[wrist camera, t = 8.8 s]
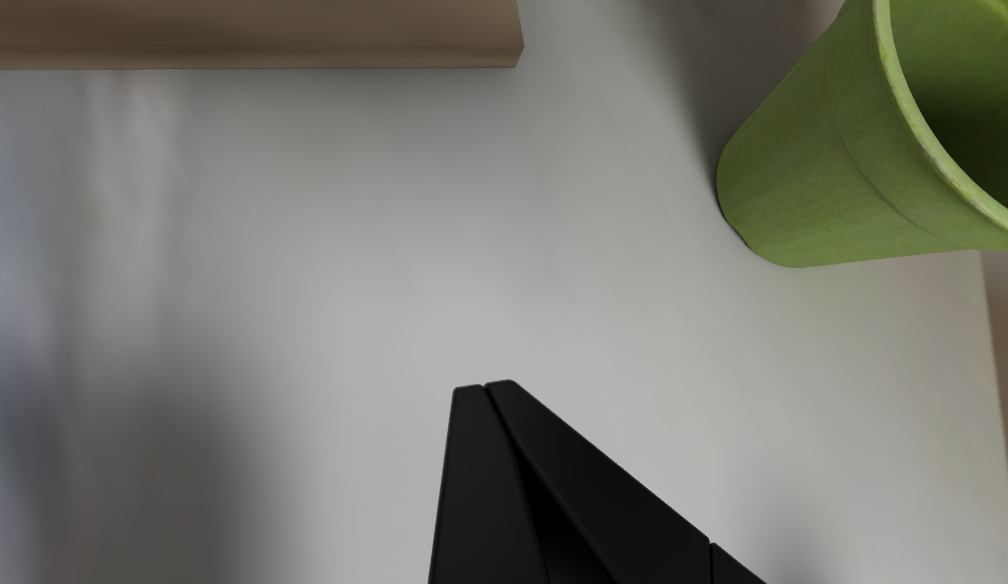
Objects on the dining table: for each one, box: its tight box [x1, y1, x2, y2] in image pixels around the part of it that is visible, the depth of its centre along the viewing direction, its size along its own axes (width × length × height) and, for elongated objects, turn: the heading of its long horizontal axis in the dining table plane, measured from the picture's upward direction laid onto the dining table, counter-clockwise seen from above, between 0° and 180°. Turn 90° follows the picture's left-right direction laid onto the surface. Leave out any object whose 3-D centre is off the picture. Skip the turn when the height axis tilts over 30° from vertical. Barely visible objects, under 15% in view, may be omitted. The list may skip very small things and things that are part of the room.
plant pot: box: [716, 0, 1008, 268], centre depth 22 cm, size 12×12×11 cm
